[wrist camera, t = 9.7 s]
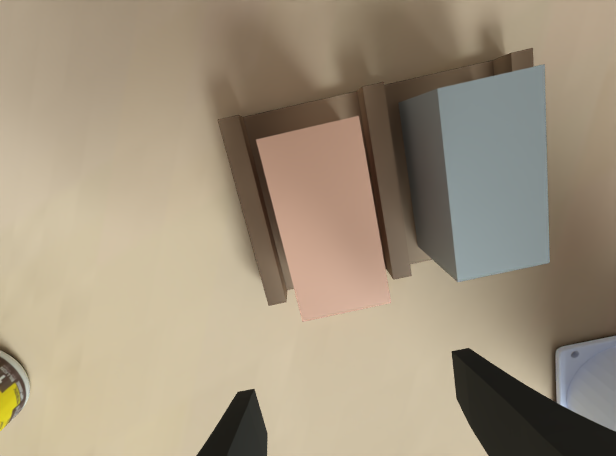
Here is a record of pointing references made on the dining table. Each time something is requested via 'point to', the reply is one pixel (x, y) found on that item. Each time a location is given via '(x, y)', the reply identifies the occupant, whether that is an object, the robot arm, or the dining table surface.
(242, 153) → the comb rack
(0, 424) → the supplement bottle
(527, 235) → the slate block
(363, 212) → the plug block
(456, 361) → the robot arm
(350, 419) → the dining table surface
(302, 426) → the dining table surface
